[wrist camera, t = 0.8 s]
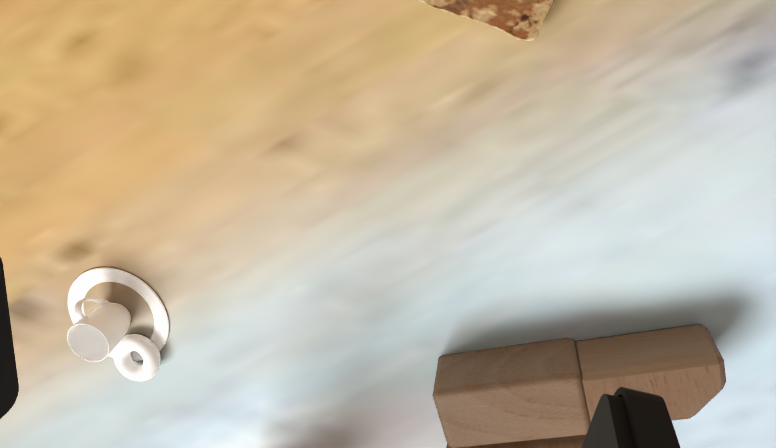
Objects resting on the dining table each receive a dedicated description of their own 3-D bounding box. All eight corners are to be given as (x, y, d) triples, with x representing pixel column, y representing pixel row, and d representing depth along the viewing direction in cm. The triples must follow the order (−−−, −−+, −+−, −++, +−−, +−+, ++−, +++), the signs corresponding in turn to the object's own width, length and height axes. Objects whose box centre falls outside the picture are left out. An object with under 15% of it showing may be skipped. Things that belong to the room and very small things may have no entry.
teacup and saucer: (176, 373, 49) (149, 408, 45) (80, 357, 50) (46, 389, 46) (168, 272, 45) (138, 301, 42) (65, 257, 46) (27, 284, 43)
